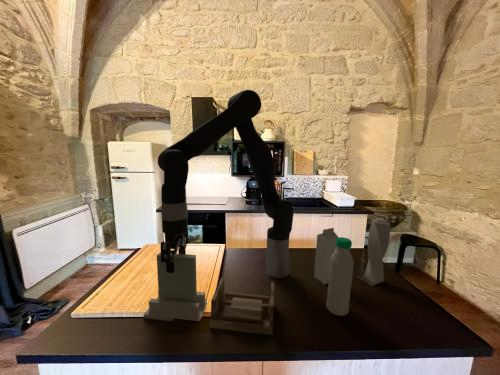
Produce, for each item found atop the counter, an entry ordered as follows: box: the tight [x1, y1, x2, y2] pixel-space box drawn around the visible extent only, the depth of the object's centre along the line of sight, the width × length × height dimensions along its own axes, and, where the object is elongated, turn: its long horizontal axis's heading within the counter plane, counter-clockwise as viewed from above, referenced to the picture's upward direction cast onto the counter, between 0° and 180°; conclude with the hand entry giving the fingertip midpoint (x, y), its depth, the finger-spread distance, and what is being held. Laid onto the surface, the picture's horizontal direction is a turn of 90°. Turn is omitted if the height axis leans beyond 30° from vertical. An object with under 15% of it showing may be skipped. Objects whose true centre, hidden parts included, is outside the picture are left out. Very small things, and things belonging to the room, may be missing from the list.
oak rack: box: [209, 277, 275, 336], centre depth 69 cm, size 14×18×9 cm
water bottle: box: [326, 236, 355, 317], centre depth 72 cm, size 7×7×25 cm
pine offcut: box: [230, 297, 262, 320], centre depth 66 cm, size 4×9×3 cm, turn 83°
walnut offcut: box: [222, 305, 263, 325], centre depth 66 cm, size 4×12×3 cm, turn 83°
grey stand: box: [143, 290, 208, 322], centre depth 72 cm, size 10×18×5 cm, turn 83°
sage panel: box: [156, 252, 198, 303], centre depth 71 cm, size 2×12×18 cm, turn 84°
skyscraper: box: [356, 213, 391, 287], centre depth 89 cm, size 8×8×28 cm
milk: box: [313, 227, 339, 285], centre depth 90 cm, size 6×6×22 cm
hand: (176, 265), depth 70 cm, fingers open, 8 cm apart
